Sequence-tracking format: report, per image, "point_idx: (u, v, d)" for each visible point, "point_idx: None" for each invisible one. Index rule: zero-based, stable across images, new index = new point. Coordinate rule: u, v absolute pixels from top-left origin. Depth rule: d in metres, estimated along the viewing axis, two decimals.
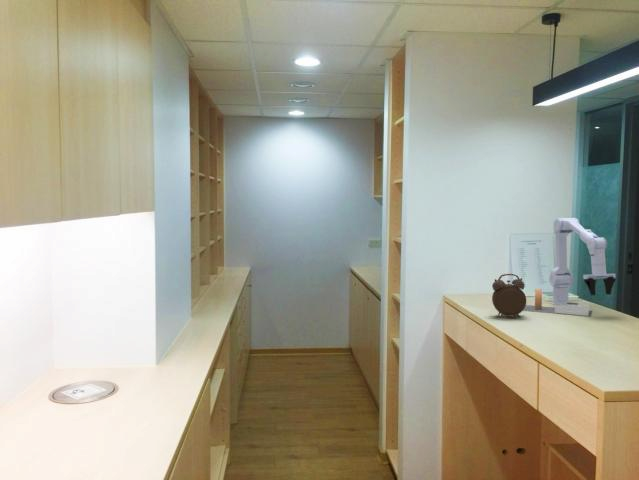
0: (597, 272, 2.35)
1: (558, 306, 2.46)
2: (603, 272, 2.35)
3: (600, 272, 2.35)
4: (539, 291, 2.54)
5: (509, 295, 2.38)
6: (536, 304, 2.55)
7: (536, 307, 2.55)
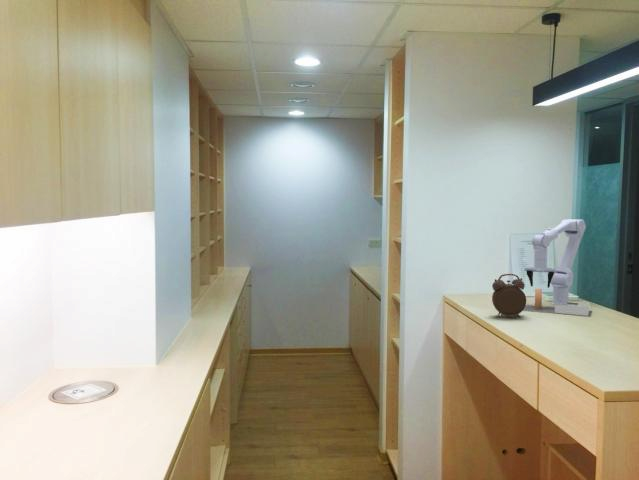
0: (535, 266, 2.58)
1: (558, 306, 2.46)
2: (539, 267, 2.56)
3: (537, 267, 2.57)
4: (539, 291, 2.54)
5: (509, 295, 2.38)
6: (536, 304, 2.55)
7: (536, 307, 2.55)
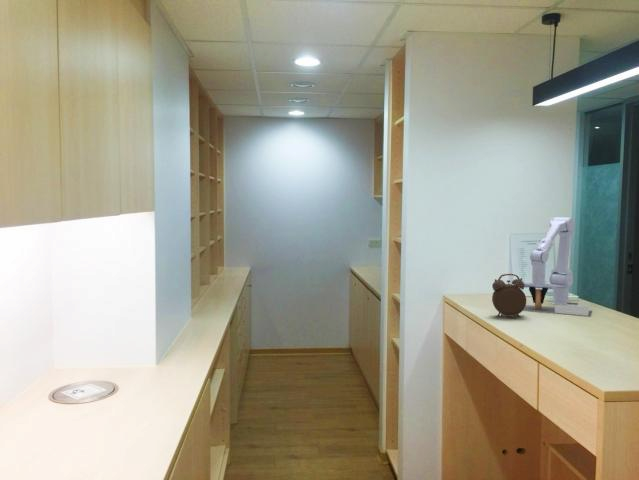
0: (533, 282, 2.54)
1: (558, 306, 2.46)
2: (538, 283, 2.52)
3: (535, 283, 2.53)
4: (539, 291, 2.54)
5: (509, 295, 2.38)
6: (536, 304, 2.55)
7: (536, 307, 2.55)
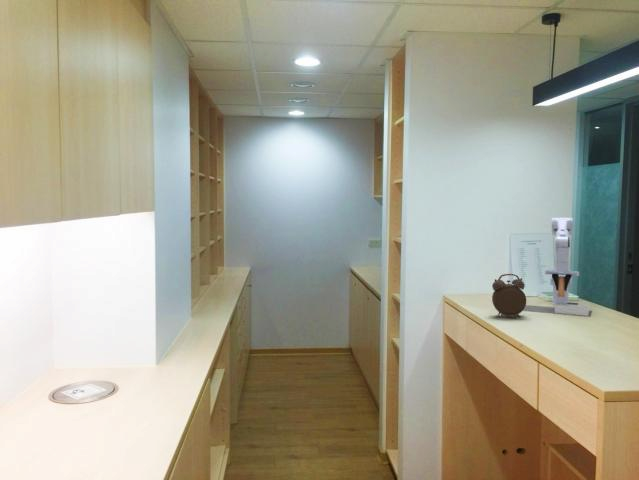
0: (556, 269, 2.49)
1: (558, 306, 2.46)
2: (561, 270, 2.47)
3: (558, 269, 2.48)
4: (562, 278, 2.48)
5: (509, 295, 2.38)
6: (559, 291, 2.49)
7: (559, 294, 2.49)
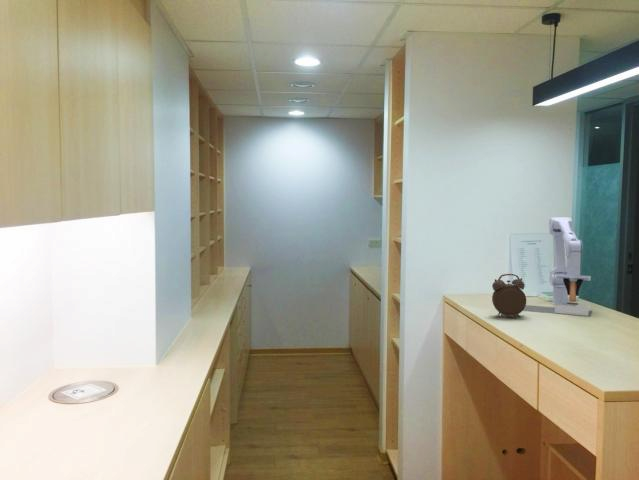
0: (567, 274, 2.46)
1: (558, 306, 2.46)
2: (572, 274, 2.44)
3: (569, 274, 2.45)
4: (574, 283, 2.46)
5: (509, 295, 2.38)
6: (571, 296, 2.47)
7: (571, 299, 2.47)
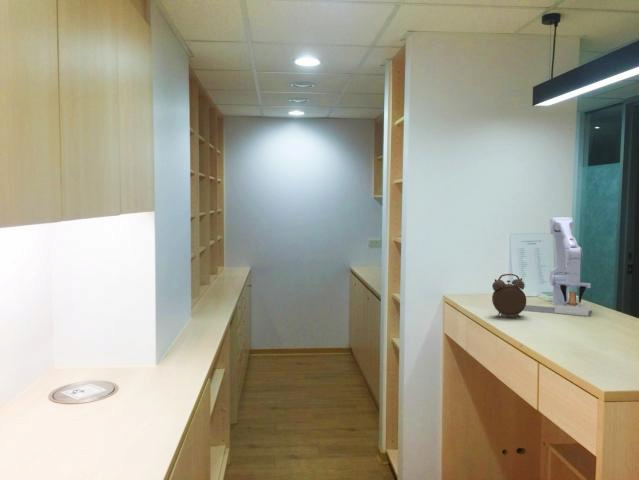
0: (567, 281, 2.47)
1: (558, 306, 2.46)
2: (572, 281, 2.45)
3: (569, 281, 2.46)
4: (573, 293, 2.46)
5: (509, 295, 2.38)
6: None
7: None
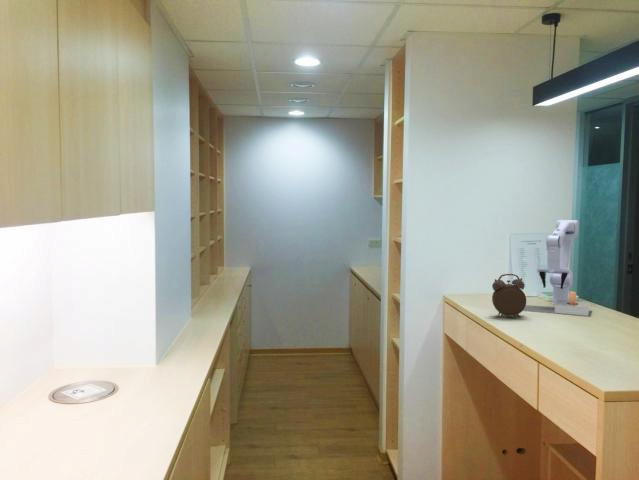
0: (548, 267, 2.55)
1: (558, 306, 2.46)
2: (553, 268, 2.53)
3: (550, 268, 2.54)
4: (573, 293, 2.46)
5: (509, 295, 2.38)
6: None
7: None
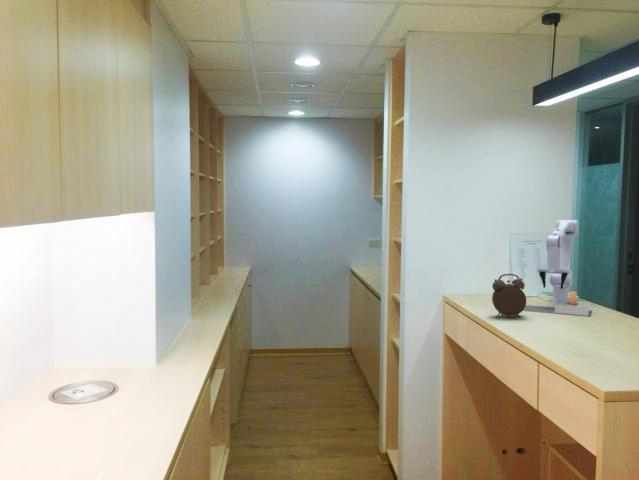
0: (548, 267, 2.55)
1: (558, 306, 2.46)
2: (553, 268, 2.53)
3: (550, 268, 2.54)
4: (574, 294, 2.46)
5: (509, 295, 2.38)
6: None
7: None
